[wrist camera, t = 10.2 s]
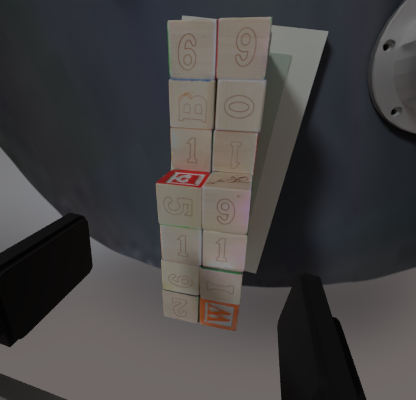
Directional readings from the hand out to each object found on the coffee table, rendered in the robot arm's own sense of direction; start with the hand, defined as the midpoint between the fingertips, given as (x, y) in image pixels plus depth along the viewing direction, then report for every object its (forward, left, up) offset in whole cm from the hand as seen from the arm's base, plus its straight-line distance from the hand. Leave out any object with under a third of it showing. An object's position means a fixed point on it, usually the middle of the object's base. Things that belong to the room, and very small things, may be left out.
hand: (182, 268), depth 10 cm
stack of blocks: (0, 0, -17) cm, 17 cm away
